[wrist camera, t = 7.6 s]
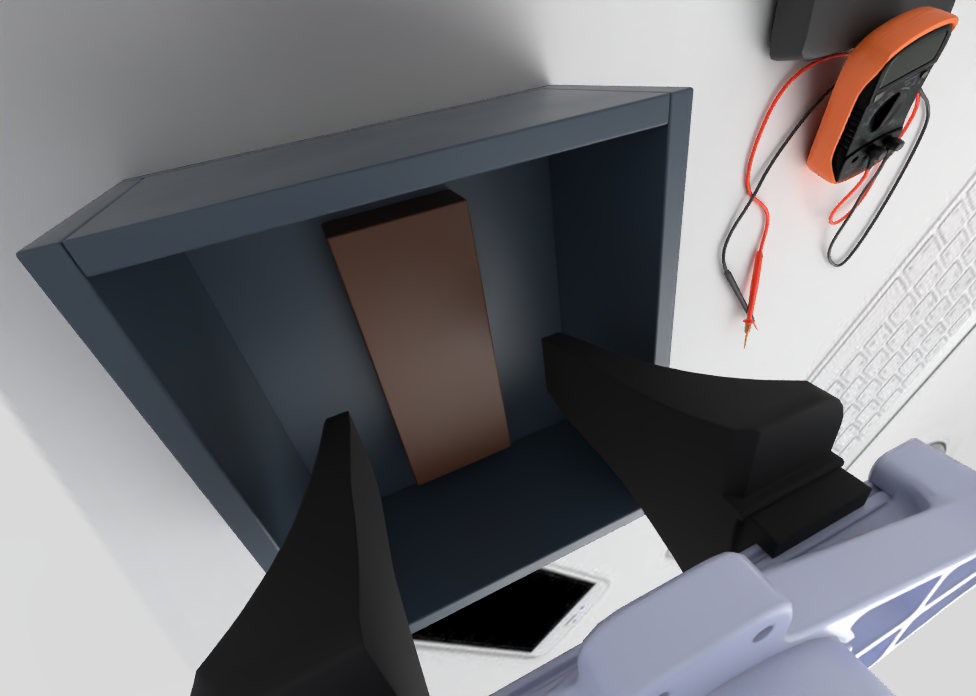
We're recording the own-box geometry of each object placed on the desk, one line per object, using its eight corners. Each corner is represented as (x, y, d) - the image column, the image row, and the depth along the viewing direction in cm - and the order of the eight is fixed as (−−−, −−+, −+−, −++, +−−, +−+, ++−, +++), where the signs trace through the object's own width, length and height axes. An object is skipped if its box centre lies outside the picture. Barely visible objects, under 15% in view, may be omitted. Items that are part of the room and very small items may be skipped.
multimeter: (851, 304, 27) (916, 329, 24) (690, 355, 23) (746, 391, 21) (1022, -118, 17) (1162, -154, 15) (796, -140, 14) (925, -195, 11)
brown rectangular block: (407, 459, 19) (417, 486, 17) (320, 222, 13) (325, 238, 12) (496, 422, 20) (512, 446, 18) (449, 188, 14) (467, 199, 13)
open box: (324, 523, 19) (341, 670, 14) (122, 180, 11) (11, 254, 6) (573, 416, 22) (657, 509, 17) (552, 84, 14) (694, 86, 9)
